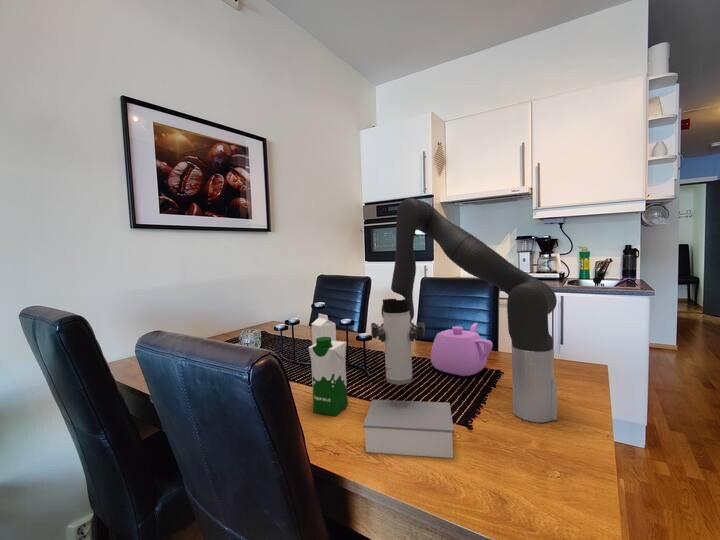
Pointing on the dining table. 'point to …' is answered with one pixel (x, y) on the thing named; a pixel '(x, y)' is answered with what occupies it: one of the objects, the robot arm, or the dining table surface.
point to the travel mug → (397, 341)
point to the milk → (323, 328)
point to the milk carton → (328, 376)
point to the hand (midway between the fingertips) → (397, 337)
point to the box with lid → (409, 428)
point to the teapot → (460, 351)
